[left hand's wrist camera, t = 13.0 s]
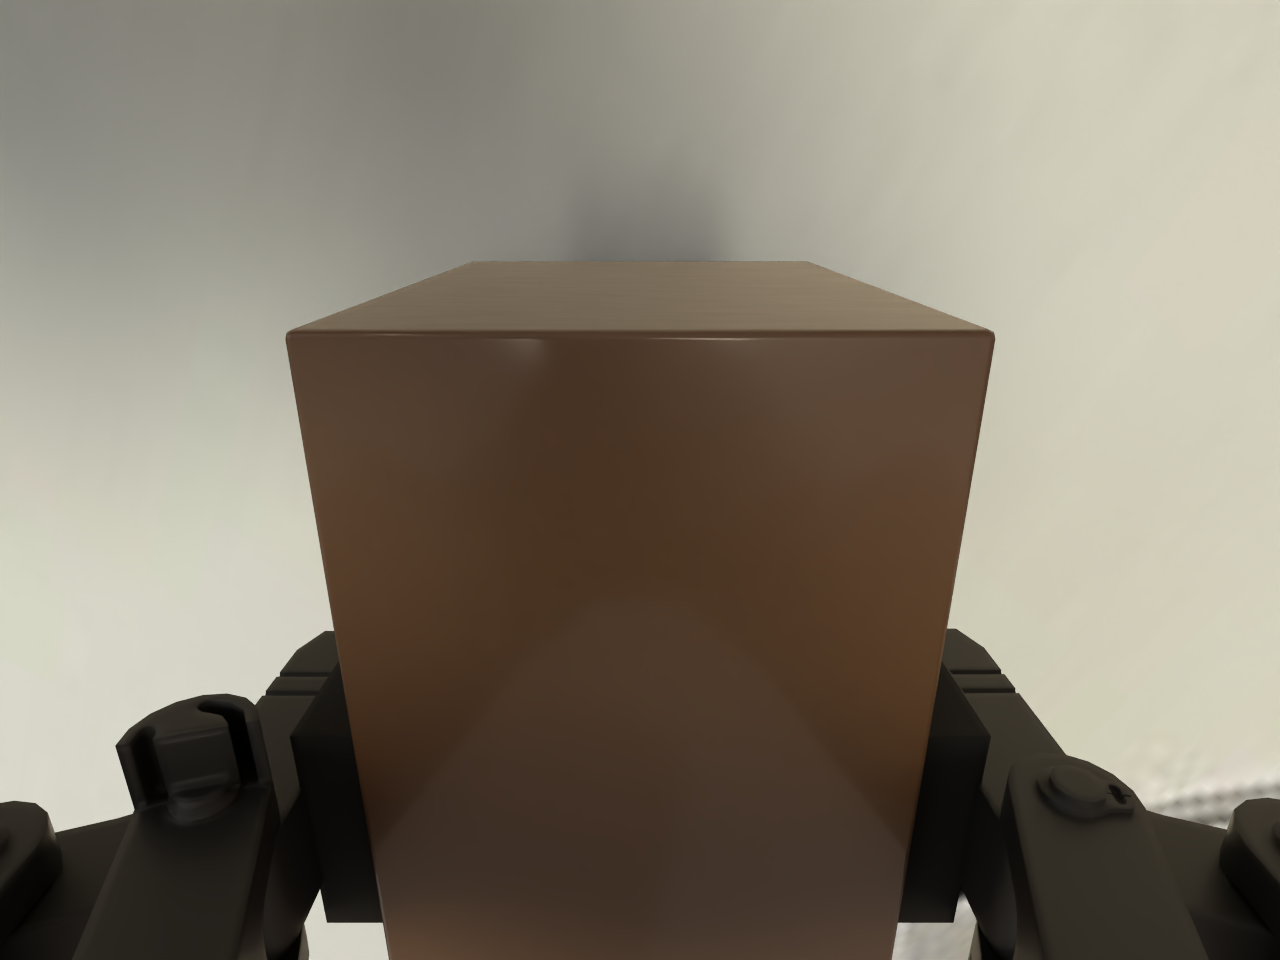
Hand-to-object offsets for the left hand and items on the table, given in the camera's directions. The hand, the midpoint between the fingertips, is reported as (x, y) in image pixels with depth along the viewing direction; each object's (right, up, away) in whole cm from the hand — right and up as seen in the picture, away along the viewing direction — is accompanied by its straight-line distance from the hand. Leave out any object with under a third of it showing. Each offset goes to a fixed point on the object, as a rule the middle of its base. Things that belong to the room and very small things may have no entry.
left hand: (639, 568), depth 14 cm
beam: (0, -25, +10) cm, 27 cm away
